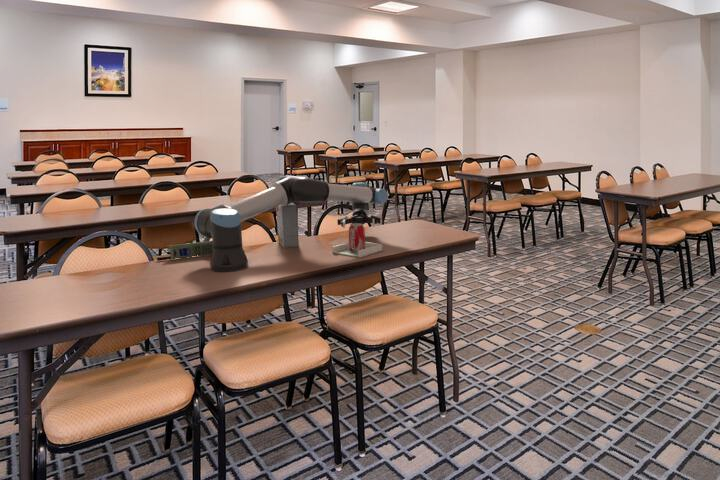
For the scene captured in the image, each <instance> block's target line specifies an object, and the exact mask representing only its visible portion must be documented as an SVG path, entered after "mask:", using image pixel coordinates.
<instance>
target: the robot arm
mask: <svg viewBox="0 0 720 480" xmlns="http://www.w3.org/2000/svg"><path fill="white" fill-rule="evenodd" d="M387 200H388V192H387V190H386V189H385V188H381V187H378V188H377V187H369V186H367V183H366V182H365V181H363V182H362V181H361V182H353V183H352V184H351V185H347V184H346V185H345V184H336V183H335V184H334V183H329V182H327V181H326V180H319V179H315V178H311V177H307V176H299V175H298V176H295V175H291V174H290V175H284V176H280V177H279V178H278V179H277V181H275V182H273V183H272V186H271V187H269V188H267V189H265V190H262V191H259V192H258V193H255V194H252V195H250V196H248V197H246V198H243V199H240V200H239V201H236V202H233V203H230V204H229V205H225V204H223V203H222V204H220V205H218V206H215V207H212V208H203V209H201V210H199V211H198V212H197V213H196V215H195V217H194V222H193V223H194V228H195V230H196V232H197V233H198V234H199V235H201V236H202V237H205V238H208V239H209V238H210V239H211V241H213V253H212V255H211V258H210V263H209V269H210V270H211V271H212V272H213V271H214V272H221V273H222V272H234V271H240V270H243V269H246V268H247V267H249V260H248V257H247V255H246V252H245V249H244V248H243V246H244V245H243V237H242V233H243V232H242V222H244V221H247V220H249V219H251V218H253V217H255V216H258V215H261V214H262V213H265V212H267V211H268V210H272V209H273V208H276V206H278V205H281V206H286V205H288V204H291V203H293V204H294V203H302V204H303V203H305V204H308V203H326V202H327V201H332V202H333V201H334V202H335V201H336V202H347V203H348V202H349V203H352V215H351V216H350V217H349V216H348V215H345V216H344V217H342V218H338V219H337V225H338V226H341V227H342V228H343V229H345V228H346V225H350V224H353V223H362V224H363V225H364V224H368V223H369V224H372V228H375V226H376V225H377V224H379V225H380V224H381V223H382V222H381V220H382V219H381V217H378V216H375V215H373V214H372V215H370V216H368V215H369V210H368V204H376V205H383V204H385V203H386V202H387Z"/></svg>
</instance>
